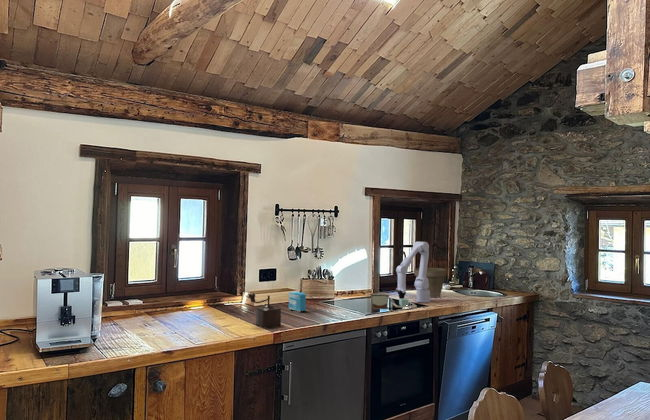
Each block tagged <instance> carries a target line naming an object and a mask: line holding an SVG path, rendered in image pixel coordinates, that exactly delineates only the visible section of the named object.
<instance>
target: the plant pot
mask: <svg viewBox="0 0 650 420" xmlns="http://www.w3.org/2000/svg"><path fill="white" fill-rule="evenodd" d="M419 269H420V267H417V268H414V269H413V274H414V276H415V279H416V278H417V277H418V276H419ZM446 276H447V269H445V268H443V267H442V268H441V267H427V273H426V277H427V279H428V283H429V287H428V289H427V290H429V291H430V299H431V298H432V299H433V298H435V299H436V298H440V297H441V294H442V291H443V287H444V282H445V277H446ZM422 281H423V280H422Z"/></svg>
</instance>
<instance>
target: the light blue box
mask: <svg viewBox="0 0 650 420" xmlns="http://www.w3.org/2000/svg"><path fill="white" fill-rule="evenodd" d="M306 295H307V294H306V293H305V292H301V291H300V292H299V291H289V293H288V310H289V309H292V310H296V311H305V312H306V308H307V307H306V304H307V303H306V302H307V301H306V298H307V297H306Z"/></svg>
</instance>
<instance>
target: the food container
mask: <svg viewBox="0 0 650 420" xmlns="http://www.w3.org/2000/svg"><path fill="white" fill-rule="evenodd" d="M370 298H371V302H372V309H373V310H388V303H389V298H390V294H389V293H385V292H372V293H371V294H370Z"/></svg>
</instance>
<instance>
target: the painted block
mask: <svg viewBox="0 0 650 420" xmlns="http://www.w3.org/2000/svg"><path fill="white" fill-rule="evenodd" d="M398 302H399V303H398V304H399V306H406V305H409V303H410V301H409V299H408V298H405V297H404V298H399V299H398ZM409 306H410V305H409Z"/></svg>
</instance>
